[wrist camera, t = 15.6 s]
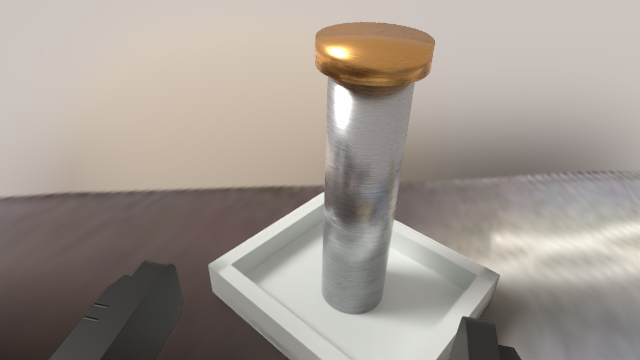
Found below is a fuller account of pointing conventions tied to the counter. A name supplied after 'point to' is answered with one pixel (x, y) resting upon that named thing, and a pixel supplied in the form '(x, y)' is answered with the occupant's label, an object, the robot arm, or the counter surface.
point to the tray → (340, 328)
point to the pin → (364, 151)
